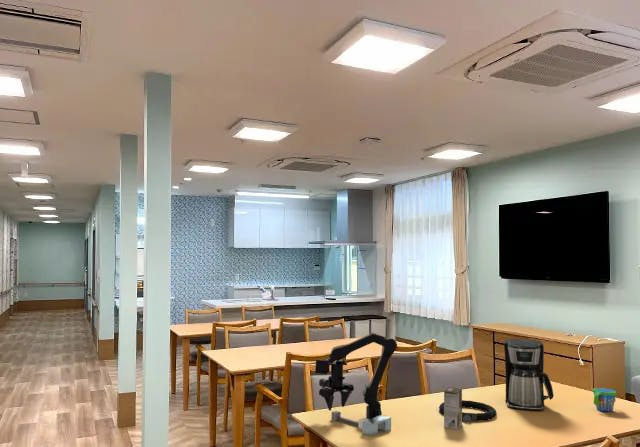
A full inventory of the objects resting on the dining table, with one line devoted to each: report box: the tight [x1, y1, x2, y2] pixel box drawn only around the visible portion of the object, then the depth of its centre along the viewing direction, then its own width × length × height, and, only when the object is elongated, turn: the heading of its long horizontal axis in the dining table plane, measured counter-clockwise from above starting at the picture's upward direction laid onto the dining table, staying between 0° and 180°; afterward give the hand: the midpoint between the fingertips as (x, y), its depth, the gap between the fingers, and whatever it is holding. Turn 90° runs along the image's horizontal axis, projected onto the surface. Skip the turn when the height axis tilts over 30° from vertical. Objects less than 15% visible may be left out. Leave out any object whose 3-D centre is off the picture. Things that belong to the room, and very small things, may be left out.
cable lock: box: [438, 399, 498, 423], centre depth 264 cm, size 28×4×30 cm
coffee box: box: [443, 386, 463, 430], centre depth 244 cm, size 9×6×16 cm
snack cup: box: [592, 387, 617, 413], centre depth 276 cm, size 16×10×10 cm
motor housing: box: [361, 414, 392, 437], centre depth 233 cm, size 5×14×5 cm, turn 137°
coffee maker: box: [503, 338, 554, 411], centre depth 288 cm, size 23×32×34 cm
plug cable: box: [330, 410, 368, 430], centre depth 243 cm, size 22×4×4 cm, turn 47°
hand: (336, 408), depth 250 cm, fingers open, 9 cm apart
